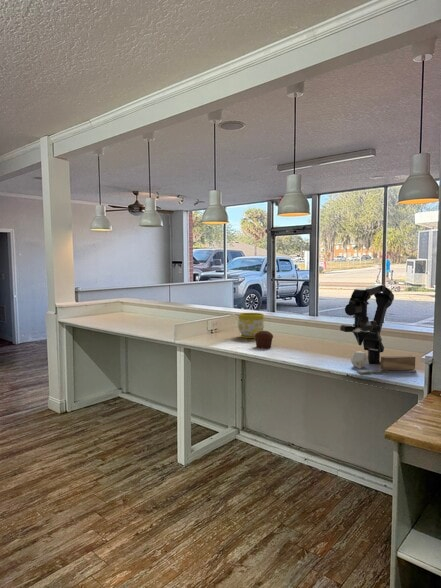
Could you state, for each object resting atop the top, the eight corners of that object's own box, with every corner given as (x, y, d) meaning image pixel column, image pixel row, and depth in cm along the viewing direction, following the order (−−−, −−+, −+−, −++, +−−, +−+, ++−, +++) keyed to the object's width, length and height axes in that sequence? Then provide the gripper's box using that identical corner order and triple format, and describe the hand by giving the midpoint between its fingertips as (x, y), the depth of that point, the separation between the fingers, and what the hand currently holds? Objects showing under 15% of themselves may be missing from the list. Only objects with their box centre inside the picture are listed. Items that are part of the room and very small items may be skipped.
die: (350, 370, 202) (361, 356, 197) (344, 358, 209) (355, 344, 204) (363, 374, 204) (375, 361, 200) (357, 362, 211) (368, 349, 207)
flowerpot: (232, 336, 290) (232, 313, 289) (251, 334, 302) (251, 312, 300) (250, 340, 276) (250, 316, 275) (269, 337, 288) (269, 314, 287)
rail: (356, 372, 195) (356, 370, 195) (411, 370, 199) (411, 368, 199) (361, 374, 191) (361, 372, 191) (416, 372, 195) (416, 370, 195)
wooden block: (380, 368, 196) (380, 356, 196) (411, 367, 198) (411, 355, 198) (383, 370, 193) (384, 357, 193) (415, 369, 195) (415, 356, 195)
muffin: (252, 348, 251) (253, 332, 250) (255, 344, 261) (255, 329, 261) (272, 349, 248) (272, 332, 247) (274, 345, 258) (274, 330, 258)
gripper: (350, 316, 193) (349, 349, 194) (387, 315, 196) (386, 348, 197) (340, 313, 204) (339, 344, 205) (375, 313, 207) (374, 343, 208)
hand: (359, 345), depth 204 cm, fingers closed
